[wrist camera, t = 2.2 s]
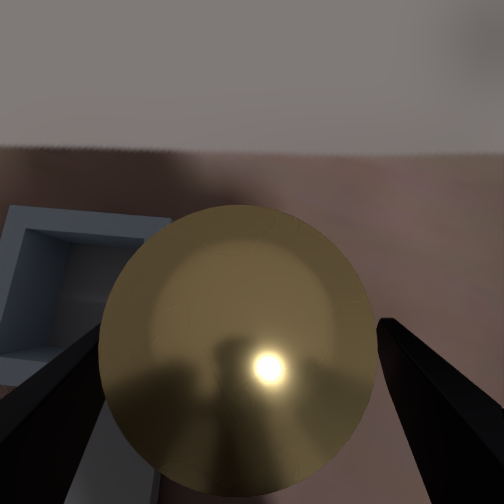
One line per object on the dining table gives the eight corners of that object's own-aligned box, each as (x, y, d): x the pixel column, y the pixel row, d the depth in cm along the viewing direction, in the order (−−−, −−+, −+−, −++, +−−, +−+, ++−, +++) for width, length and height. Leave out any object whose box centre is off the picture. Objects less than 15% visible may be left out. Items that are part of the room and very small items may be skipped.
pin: (258, 374, 17) (250, 574, 4) (198, 319, 18) (41, 352, 5) (309, 310, 18) (434, 321, 5) (249, 259, 19) (224, 157, 6)
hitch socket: (150, 554, 16) (99, 667, 11) (3, 532, 16) (-110, 631, 11) (194, 240, 19) (171, 218, 14) (72, 230, 20) (10, 204, 15)
